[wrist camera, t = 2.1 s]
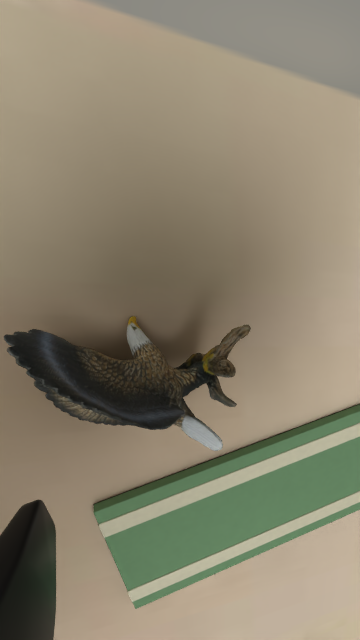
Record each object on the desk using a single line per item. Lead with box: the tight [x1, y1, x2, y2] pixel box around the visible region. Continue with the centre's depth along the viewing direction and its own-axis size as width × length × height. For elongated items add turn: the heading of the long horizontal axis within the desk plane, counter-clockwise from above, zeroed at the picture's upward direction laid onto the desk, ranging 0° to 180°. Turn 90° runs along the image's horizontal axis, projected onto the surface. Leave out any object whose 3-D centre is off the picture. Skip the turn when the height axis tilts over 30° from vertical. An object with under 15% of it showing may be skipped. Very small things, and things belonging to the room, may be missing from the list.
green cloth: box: [94, 404, 360, 609], centre depth 22 cm, size 20×10×1 cm, turn 102°
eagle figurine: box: [4, 316, 251, 451], centre depth 14 cm, size 8×7×9 cm
